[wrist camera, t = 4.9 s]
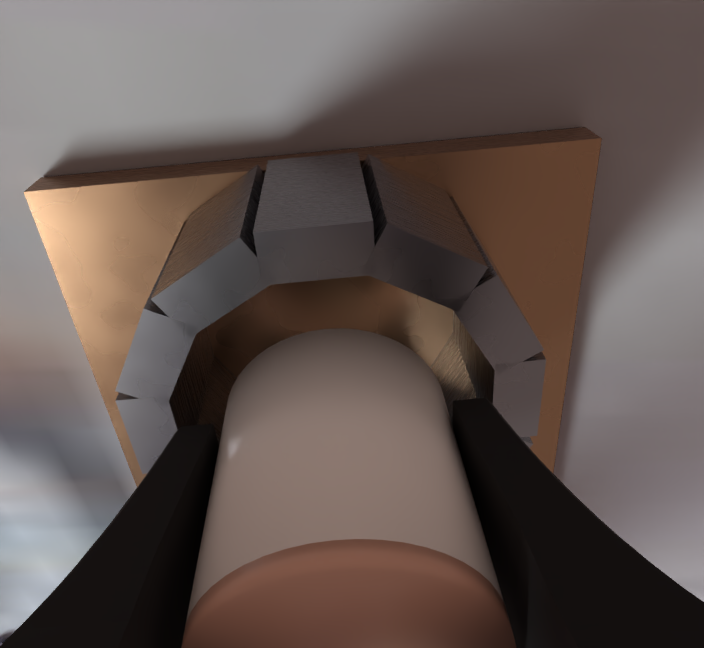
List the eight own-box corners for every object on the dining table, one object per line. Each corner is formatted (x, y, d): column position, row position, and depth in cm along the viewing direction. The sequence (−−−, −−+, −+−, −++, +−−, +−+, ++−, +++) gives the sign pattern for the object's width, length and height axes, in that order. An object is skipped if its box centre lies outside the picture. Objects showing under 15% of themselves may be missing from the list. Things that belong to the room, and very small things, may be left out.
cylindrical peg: (444, 485, 13) (505, 737, 9) (246, 504, 13) (215, 766, 9) (445, 317, 11) (529, 550, 7) (205, 340, 11) (137, 589, 7)
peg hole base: (532, 536, 22) (583, 674, 18) (183, 571, 22) (153, 717, 18) (585, 118, 14) (702, 190, 10) (37, 169, 14) (-81, 263, 10)
